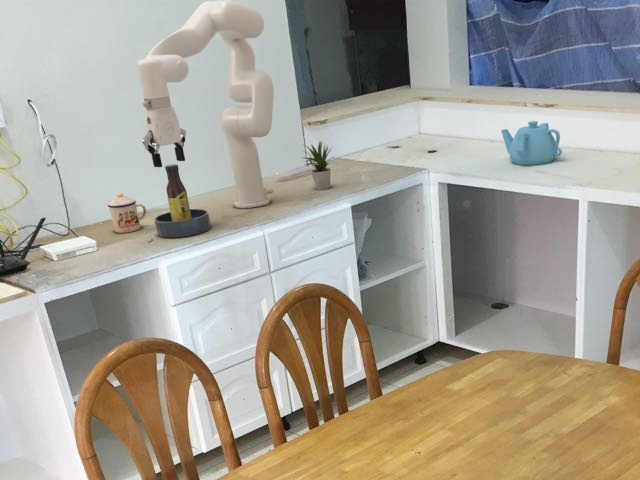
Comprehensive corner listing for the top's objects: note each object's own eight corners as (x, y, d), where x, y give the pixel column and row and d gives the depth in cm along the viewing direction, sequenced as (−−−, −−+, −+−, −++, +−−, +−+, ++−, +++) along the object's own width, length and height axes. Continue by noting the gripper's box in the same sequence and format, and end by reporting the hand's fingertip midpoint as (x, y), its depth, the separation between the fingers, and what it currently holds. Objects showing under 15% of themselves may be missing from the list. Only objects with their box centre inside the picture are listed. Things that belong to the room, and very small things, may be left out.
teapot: (549, 153, 359) (549, 114, 351) (566, 162, 343) (566, 121, 335) (501, 160, 357) (500, 121, 349) (516, 169, 341) (515, 128, 333)
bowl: (185, 222, 313) (182, 207, 310) (221, 226, 304) (219, 210, 301) (146, 236, 301) (143, 220, 299) (183, 240, 292) (180, 224, 290)
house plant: (304, 185, 349) (298, 138, 340) (341, 181, 348) (335, 134, 339) (301, 193, 337) (294, 145, 328) (339, 189, 336) (333, 141, 327)
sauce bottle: (189, 232, 299) (175, 167, 289) (171, 233, 300) (157, 168, 290) (197, 227, 304) (184, 162, 294) (179, 227, 306) (165, 163, 295)
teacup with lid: (119, 234, 306) (110, 198, 300) (110, 230, 313) (101, 194, 307) (153, 227, 311) (145, 191, 305) (144, 223, 318) (136, 187, 312)
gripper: (144, 108, 275) (157, 169, 284) (187, 99, 286) (198, 159, 295) (127, 108, 279) (140, 169, 287) (170, 99, 290) (181, 158, 299)
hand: (169, 163), depth 291 cm, fingers open, 9 cm apart
